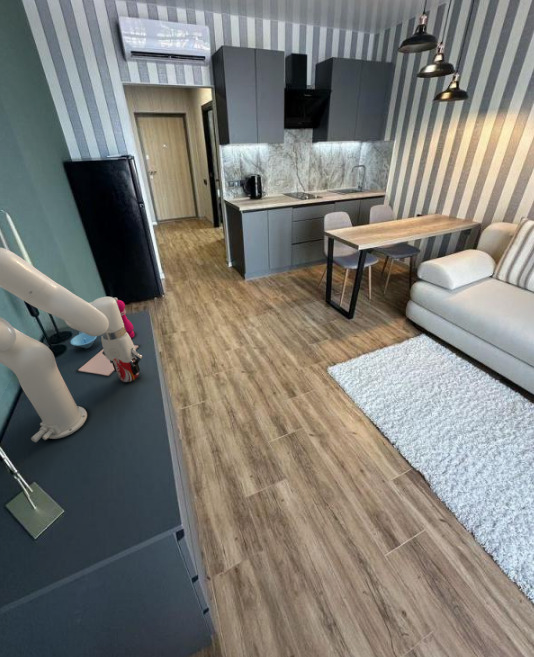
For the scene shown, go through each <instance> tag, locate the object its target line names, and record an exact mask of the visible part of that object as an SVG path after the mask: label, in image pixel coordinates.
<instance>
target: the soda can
mask: <svg viewBox="0 0 534 657" xmlns="http://www.w3.org/2000/svg"><path fill="white" fill-rule="evenodd" d="M132 361H133V363H134V362H135V361H134V360H133V359H132ZM113 363H114V366H115V368H116V371H117V372H116V374H117V376H118V379H119V380H120V381H121V382H123V383H130V382H133V381H135V380H136V379H138V377H139V375H140V373H139V372H140V371H139V372H138V373H137V374H136V375H134V374H133V372H132V369H131V366H132V365H131V364H130V363H125V362H122V361H121V360H119V359H117V357H116V358H115V359H113Z"/></svg>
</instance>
